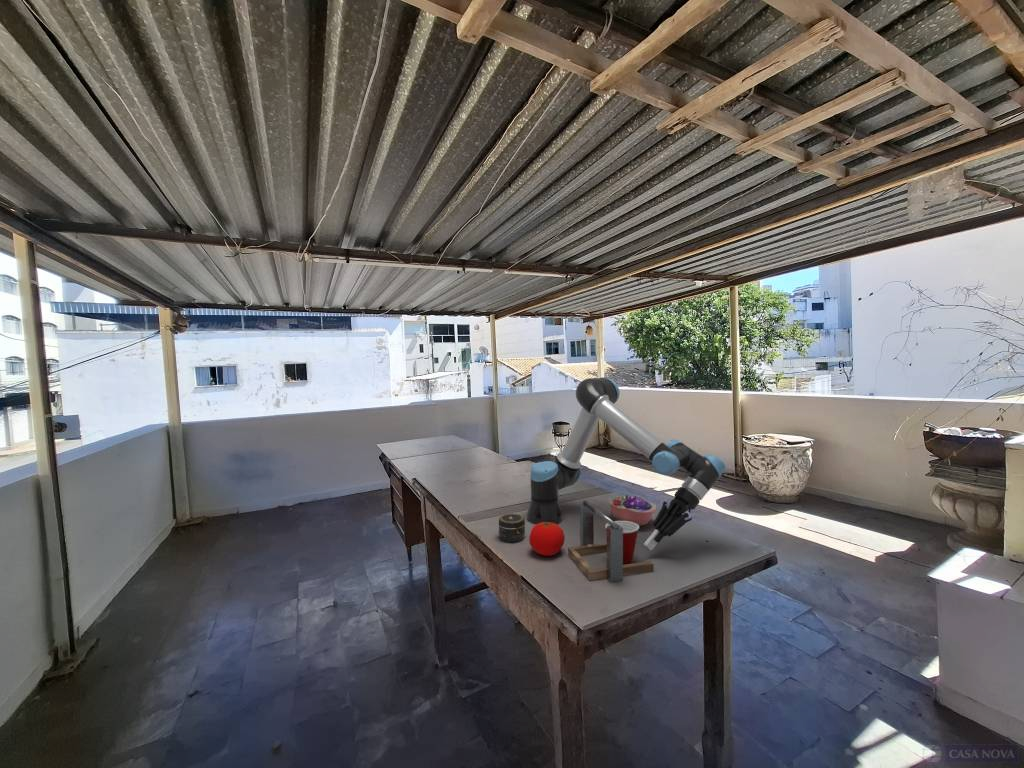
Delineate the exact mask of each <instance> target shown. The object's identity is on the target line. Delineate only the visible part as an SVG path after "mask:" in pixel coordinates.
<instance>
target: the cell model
mask: <svg viewBox="0 0 1024 768" xmlns="http://www.w3.org/2000/svg"><path fill="white" fill-rule="evenodd" d="M608 500H609V502H608V503H609V505H610V506H609V507H610V514H612V516H613V517H614V518H615V519H616V521H629V522H633V523H636V524H637V525H639V527H641V526H645V525H647V524H648V523H649V522H650V520H651V519H653V517H654V515H655V511H657V510H656V509H657V505H656V503H654V502H653V501H650V500H648V499H645V498H642V497H637V496H636V495H634V496H628V494H625V496H622V495H621V496H619V495H618V496H615V497H612V498H609V499H608Z"/></svg>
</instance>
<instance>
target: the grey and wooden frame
mask: <svg viewBox="0 0 1024 768" xmlns="http://www.w3.org/2000/svg"><path fill="white" fill-rule="evenodd" d="M582 502H583V503H581V504H579V537H580V538H579V541H580V542H579V546H570V547H568V548H567V555H568V557H569V558H570V559H571V560H572V561H573V563H574V564H575V565H576V567H578V569H579V570H580V571H581V572H582V573H583V575H584V576H585V577H586V578H587V580H588V581H589V582H590V581H598V580H599V581H600V580H605V579H606V580H608V581H609V582H610V584H612V583H619V582H623V581H624V576H631V575H637V574H639V575H640V574H645V573H653V572H654V571H655V567H654V566H655V563H654V562H653V561H652V560H649V561H641V562H635V563H631V564H626V565H623V528H622V527H621V526H620V525H618V524H617V523H615V522H614V520H613V519H611V518H610V517H609V516H608V515H606V514H605V513H604V512H602V511H601V510H600V509H598V508H597V507H596V506H595V505H593V504H592V503H591V502H589V501H587V500H583V501H582ZM594 514H595V515H597V516H598V518H600V519H601V520H603V521H604V522H605V523H606V524H607V523H608V524H609V525H610V526H607V529H606V542H604V543H595V542H594V540H595V539H594V538H595V537H594V532H595V531H594V530H595V527H594ZM602 553H606V567H605V566H604V567H599V568H598V567H597V568H592V567H591V566H590V565H589V564H588V563H587V561H586V560H585V559H584V558H583V557H582V556H586V555H593V554H594V555H595V554H602Z"/></svg>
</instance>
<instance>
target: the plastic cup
mask: <svg viewBox="0 0 1024 768" xmlns="http://www.w3.org/2000/svg"><path fill="white" fill-rule="evenodd" d="M613 521H614V520H613ZM614 522H615V523H617V524H618V525H620V526H621V527H622V528H623V565H626V564H633V563H632V562H633V559H634V553H635V547H636V542H637V537H638V532H639V529H640V526H639V525H637V524H636V523H633V522H629V521H619V520H615V521H614ZM607 526H610V525H609V524H608V523H607V522H606V524H605V527H604V528H605V529H606V530H607Z"/></svg>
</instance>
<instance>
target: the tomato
mask: <svg viewBox="0 0 1024 768" xmlns="http://www.w3.org/2000/svg"><path fill="white" fill-rule="evenodd" d="M565 539H566V537H565V534H564V530H563V529H562V527H561V526H560V525H558V523H557V524H555V523H553V522H552V523H551V522H542V523H538V524H534V526H533V527H532V529H531V531H530V534H529V540H528V541H529V545H530V547H531V548H532V550H533V551H534V552H535V553H537V554H538V555H541V556H546V557H550V556H555V555H556V554H558V553H559V552H560V550H562V548H563V545H564V543H565Z"/></svg>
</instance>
